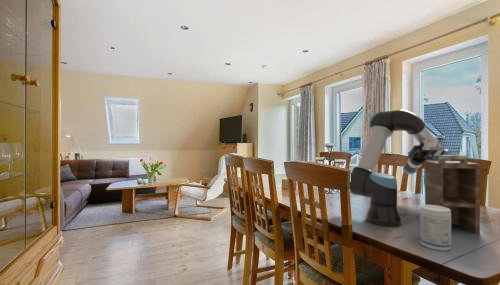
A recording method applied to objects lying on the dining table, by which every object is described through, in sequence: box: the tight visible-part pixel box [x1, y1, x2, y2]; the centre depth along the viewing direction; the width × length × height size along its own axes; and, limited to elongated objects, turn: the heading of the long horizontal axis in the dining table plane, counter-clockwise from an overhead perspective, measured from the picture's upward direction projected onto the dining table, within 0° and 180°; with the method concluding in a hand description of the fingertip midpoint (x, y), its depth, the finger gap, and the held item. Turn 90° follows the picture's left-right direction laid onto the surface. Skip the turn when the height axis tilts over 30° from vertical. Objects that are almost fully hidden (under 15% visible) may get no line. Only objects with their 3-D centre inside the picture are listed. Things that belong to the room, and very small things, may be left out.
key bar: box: [422, 142, 445, 150], centre depth 130 cm, size 4×18×4 cm, turn 166°
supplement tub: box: [419, 204, 452, 252], centre depth 94 cm, size 10×10×15 cm
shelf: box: [424, 154, 481, 235], centre depth 114 cm, size 15×14×33 cm
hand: (431, 140), depth 132 cm, fingers closed on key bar, 4 cm apart
